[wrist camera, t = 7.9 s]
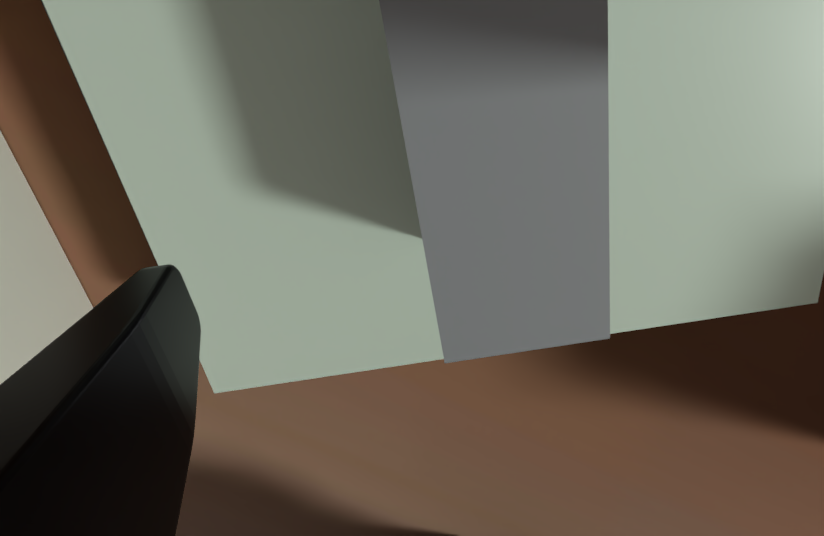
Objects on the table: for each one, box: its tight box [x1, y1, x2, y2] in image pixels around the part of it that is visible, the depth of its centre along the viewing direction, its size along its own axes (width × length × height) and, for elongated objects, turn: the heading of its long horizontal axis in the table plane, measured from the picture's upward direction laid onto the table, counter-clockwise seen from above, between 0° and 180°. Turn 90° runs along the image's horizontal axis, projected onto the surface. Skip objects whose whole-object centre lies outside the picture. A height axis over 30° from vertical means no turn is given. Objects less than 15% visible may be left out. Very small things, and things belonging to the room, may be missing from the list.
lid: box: [42, 0, 824, 393], centre depth 14 cm, size 15×15×7 cm
